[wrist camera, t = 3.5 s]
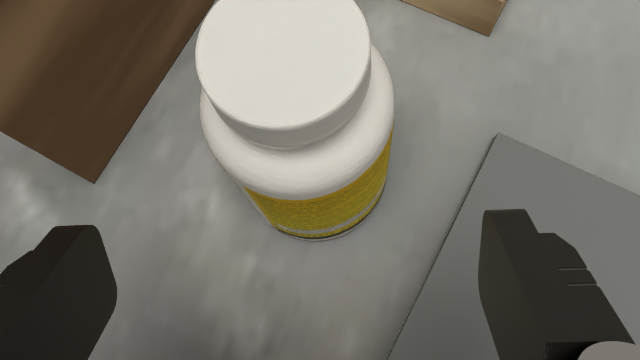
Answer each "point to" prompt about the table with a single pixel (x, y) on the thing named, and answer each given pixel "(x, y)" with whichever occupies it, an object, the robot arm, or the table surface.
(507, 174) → the charcoal pad
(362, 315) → the table surface
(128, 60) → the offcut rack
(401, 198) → the table surface
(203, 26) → the supplement bottle
